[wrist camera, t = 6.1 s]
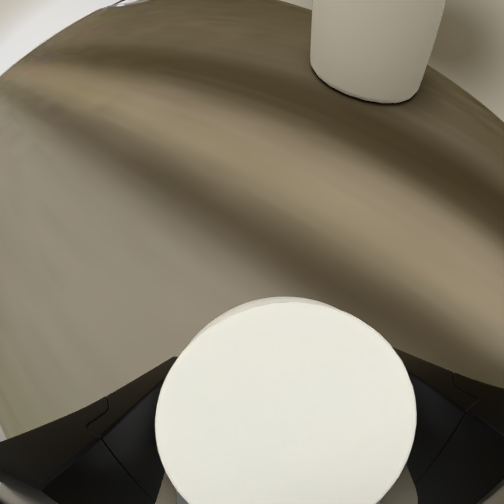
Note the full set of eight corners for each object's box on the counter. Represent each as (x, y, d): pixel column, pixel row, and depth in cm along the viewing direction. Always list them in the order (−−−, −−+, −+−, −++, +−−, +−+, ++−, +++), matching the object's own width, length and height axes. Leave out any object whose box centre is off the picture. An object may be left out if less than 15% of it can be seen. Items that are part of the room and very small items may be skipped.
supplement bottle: (202, 367, 17) (62, 333, 5) (301, 316, 18) (349, 190, 6) (253, 463, 14) (209, 600, 3) (354, 410, 15) (498, 453, 3)
